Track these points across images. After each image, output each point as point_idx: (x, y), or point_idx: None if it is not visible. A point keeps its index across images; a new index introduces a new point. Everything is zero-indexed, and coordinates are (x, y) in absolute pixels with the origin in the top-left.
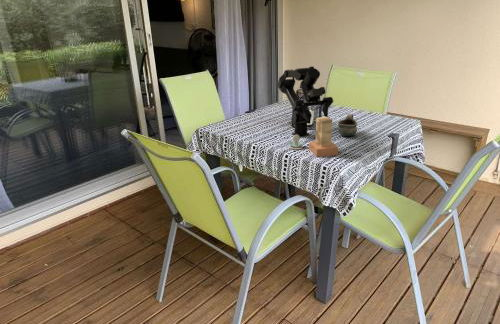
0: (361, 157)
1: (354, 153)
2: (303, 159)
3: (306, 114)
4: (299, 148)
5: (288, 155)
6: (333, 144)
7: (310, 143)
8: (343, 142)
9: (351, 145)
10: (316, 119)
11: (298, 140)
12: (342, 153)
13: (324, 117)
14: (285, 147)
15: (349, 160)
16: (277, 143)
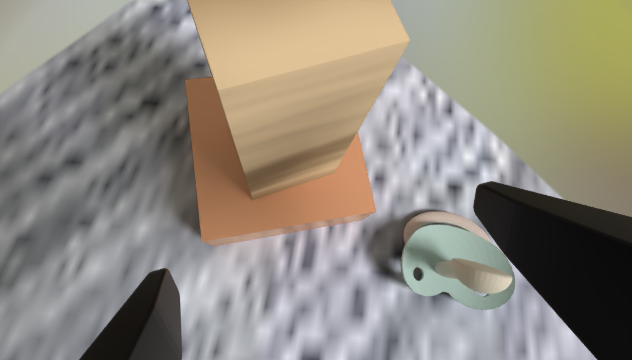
0: (69, 48)
1: (82, 111)
2: (408, 67)
3: (594, 216)
4: (426, 214)
5: (488, 130)
6: (202, 134)
7: (368, 181)
8: (63, 342)
9: (29, 263)
10: (397, 48)
11: (454, 258)
12: (161, 120)
13: (263, 39)
14: (512, 265)
15: (160, 20)
16: (572, 356)
